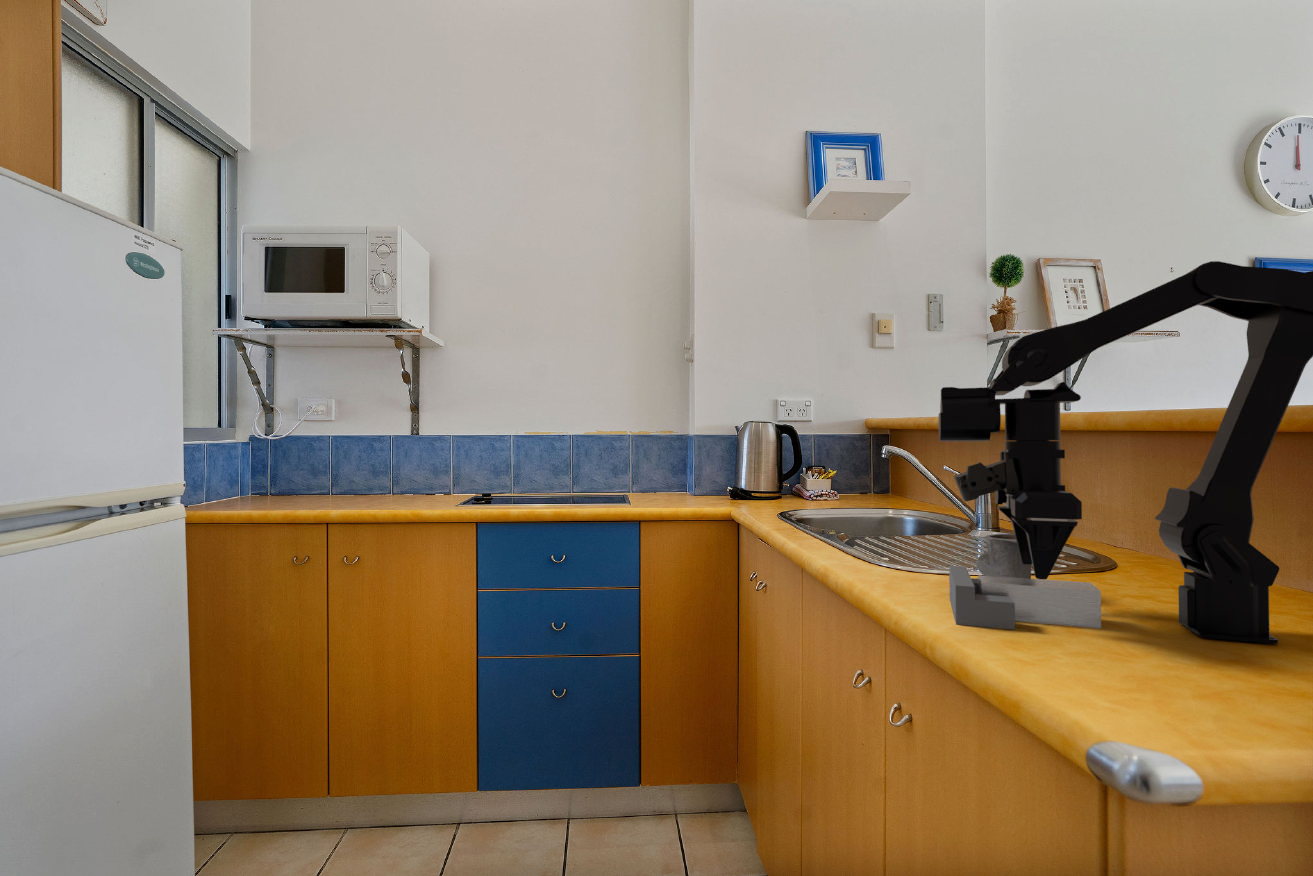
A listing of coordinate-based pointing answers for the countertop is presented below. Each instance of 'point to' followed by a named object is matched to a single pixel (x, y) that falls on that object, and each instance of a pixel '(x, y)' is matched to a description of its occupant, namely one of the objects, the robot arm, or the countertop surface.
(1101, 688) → the countertop surface
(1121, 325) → the robot arm
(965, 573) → the grey u-shaped block
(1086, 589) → the long gray post
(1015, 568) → the grey tapered cup
